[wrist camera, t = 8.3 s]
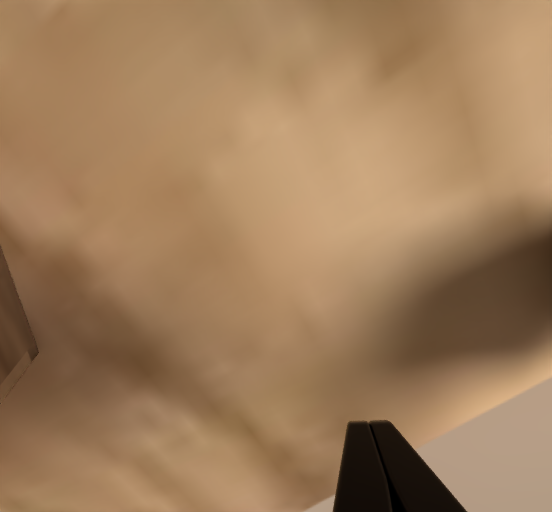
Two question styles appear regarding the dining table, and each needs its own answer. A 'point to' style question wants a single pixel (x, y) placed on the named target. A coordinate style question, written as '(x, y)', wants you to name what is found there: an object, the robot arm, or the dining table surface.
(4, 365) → the walnut box
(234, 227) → the dining table surface
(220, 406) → the dining table surface
